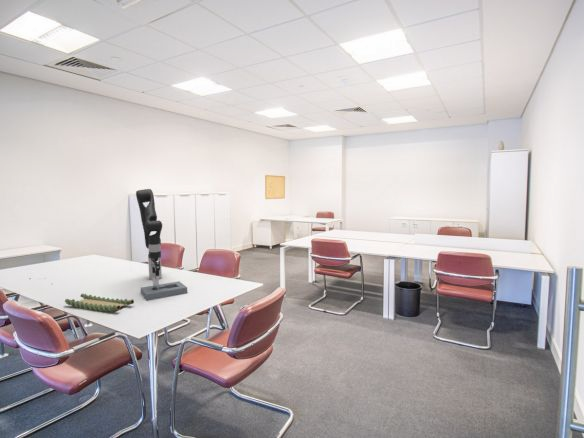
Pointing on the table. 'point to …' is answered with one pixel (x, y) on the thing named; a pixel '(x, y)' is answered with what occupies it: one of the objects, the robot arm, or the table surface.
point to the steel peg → (155, 283)
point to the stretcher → (98, 303)
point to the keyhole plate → (163, 290)
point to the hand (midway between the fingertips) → (155, 274)
